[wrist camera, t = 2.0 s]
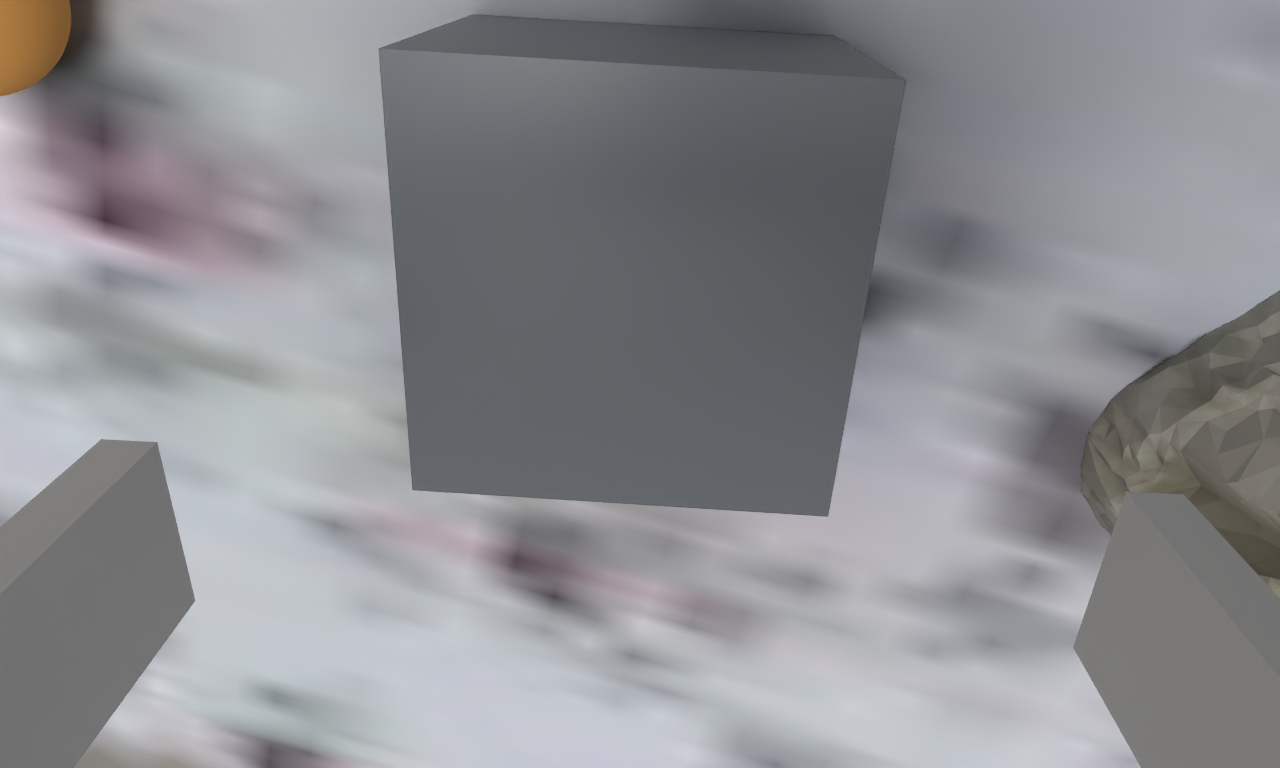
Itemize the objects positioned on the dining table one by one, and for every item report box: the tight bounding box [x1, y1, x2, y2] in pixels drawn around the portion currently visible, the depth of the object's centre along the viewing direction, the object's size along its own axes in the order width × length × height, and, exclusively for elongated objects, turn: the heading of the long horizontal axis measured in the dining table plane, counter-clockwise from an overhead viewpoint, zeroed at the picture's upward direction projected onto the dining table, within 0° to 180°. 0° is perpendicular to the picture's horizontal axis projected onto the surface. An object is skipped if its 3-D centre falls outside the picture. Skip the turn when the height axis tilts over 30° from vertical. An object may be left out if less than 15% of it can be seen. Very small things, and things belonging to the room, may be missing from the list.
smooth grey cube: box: [379, 15, 906, 517], centre depth 23 cm, size 10×10×9 cm
